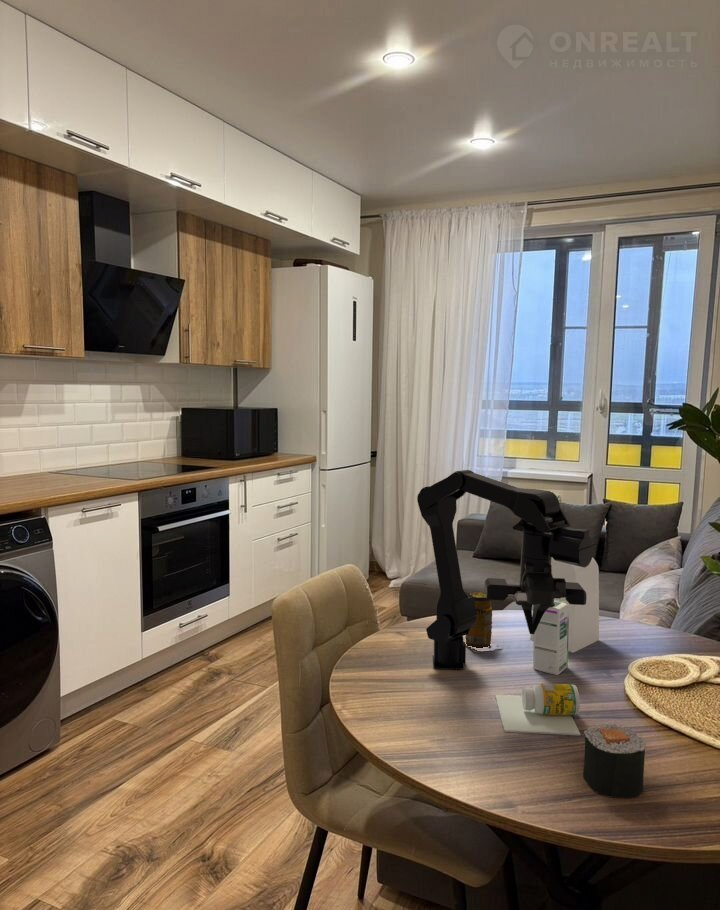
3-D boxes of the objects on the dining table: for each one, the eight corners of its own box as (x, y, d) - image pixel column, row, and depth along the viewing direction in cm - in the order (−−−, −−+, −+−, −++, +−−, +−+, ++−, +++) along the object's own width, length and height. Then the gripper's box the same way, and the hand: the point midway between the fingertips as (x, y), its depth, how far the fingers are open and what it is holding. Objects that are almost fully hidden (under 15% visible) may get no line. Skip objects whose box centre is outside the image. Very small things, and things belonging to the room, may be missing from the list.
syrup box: (558, 676, 141) (560, 609, 140) (531, 669, 144) (533, 603, 143) (568, 667, 145) (570, 602, 144) (542, 660, 149) (544, 597, 148)
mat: (504, 731, 117) (504, 730, 117) (495, 696, 131) (495, 694, 131) (580, 735, 116) (580, 733, 116) (562, 699, 130) (562, 697, 130)
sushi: (652, 797, 98) (655, 745, 98) (597, 799, 98) (599, 747, 97) (626, 767, 106) (628, 719, 106) (575, 769, 106) (577, 720, 105)
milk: (556, 627, 170) (560, 527, 168) (599, 640, 162) (603, 534, 160) (530, 638, 162) (533, 533, 160) (573, 652, 154) (577, 541, 152)
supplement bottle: (573, 679, 126) (521, 677, 126) (581, 693, 120) (527, 691, 121) (571, 706, 126) (520, 704, 127) (579, 721, 121) (526, 719, 121)
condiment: (483, 637, 163) (485, 589, 162) (502, 650, 155) (504, 599, 154) (457, 641, 161) (458, 592, 160) (475, 653, 153) (476, 602, 152)
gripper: (492, 564, 122) (487, 646, 124) (596, 570, 121) (590, 653, 122) (486, 549, 133) (482, 625, 135) (581, 554, 132) (576, 630, 133)
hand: (531, 633), depth 131 cm, fingers closed
